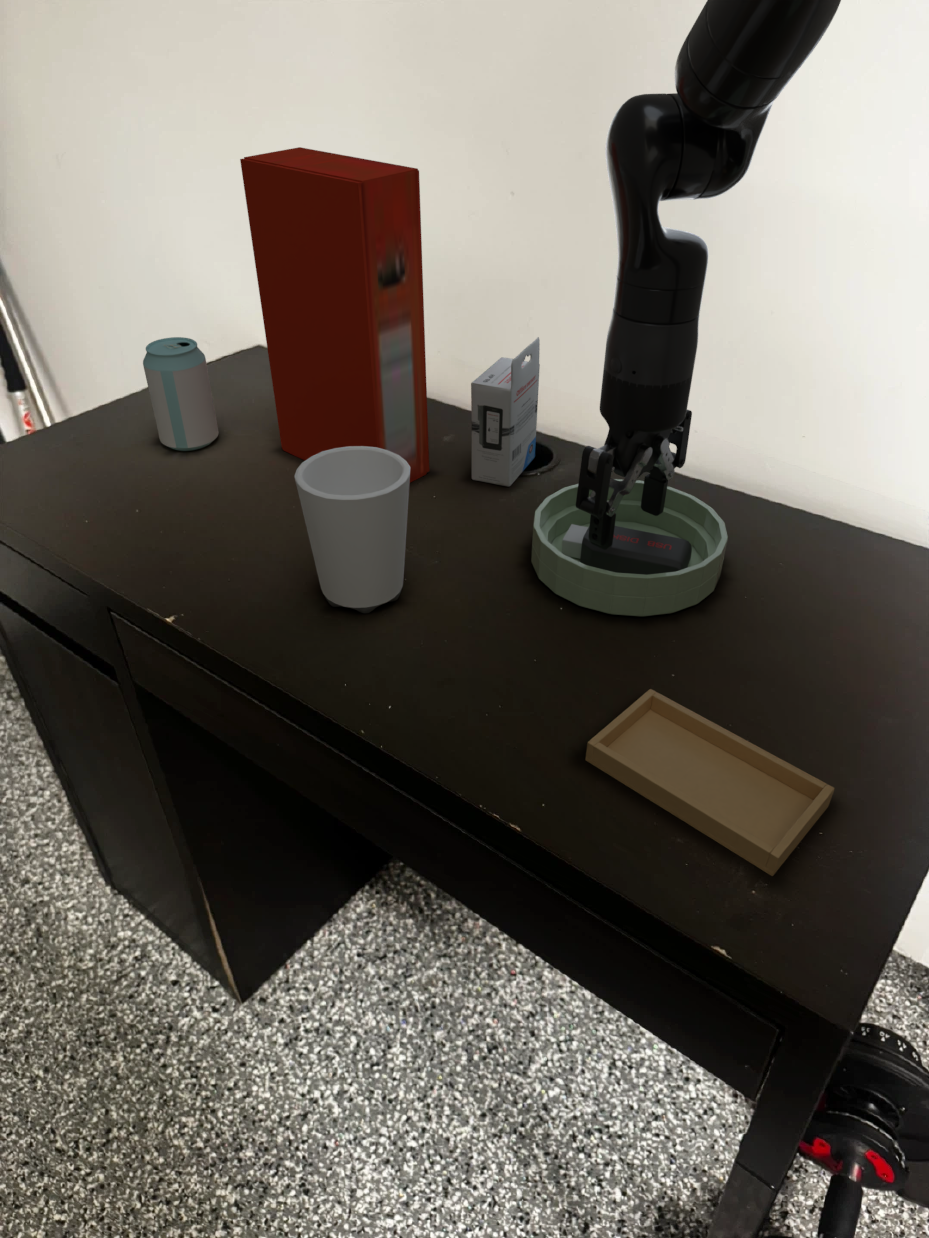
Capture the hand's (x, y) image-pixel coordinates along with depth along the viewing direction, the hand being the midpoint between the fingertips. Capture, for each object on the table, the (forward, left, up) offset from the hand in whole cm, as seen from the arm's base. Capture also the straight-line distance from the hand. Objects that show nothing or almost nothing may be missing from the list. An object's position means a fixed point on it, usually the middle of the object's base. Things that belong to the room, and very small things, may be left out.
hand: (626, 528), depth 85 cm
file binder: (+36, +4, -4) cm, 36 cm away
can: (+55, +14, -4) cm, 57 cm away
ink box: (+22, -7, -4) cm, 23 cm away
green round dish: (0, 0, -4) cm, 4 cm away
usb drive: (0, 0, -4) cm, 4 cm away
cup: (+15, +21, -4) cm, 26 cm away
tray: (-21, +20, -4) cm, 29 cm away
